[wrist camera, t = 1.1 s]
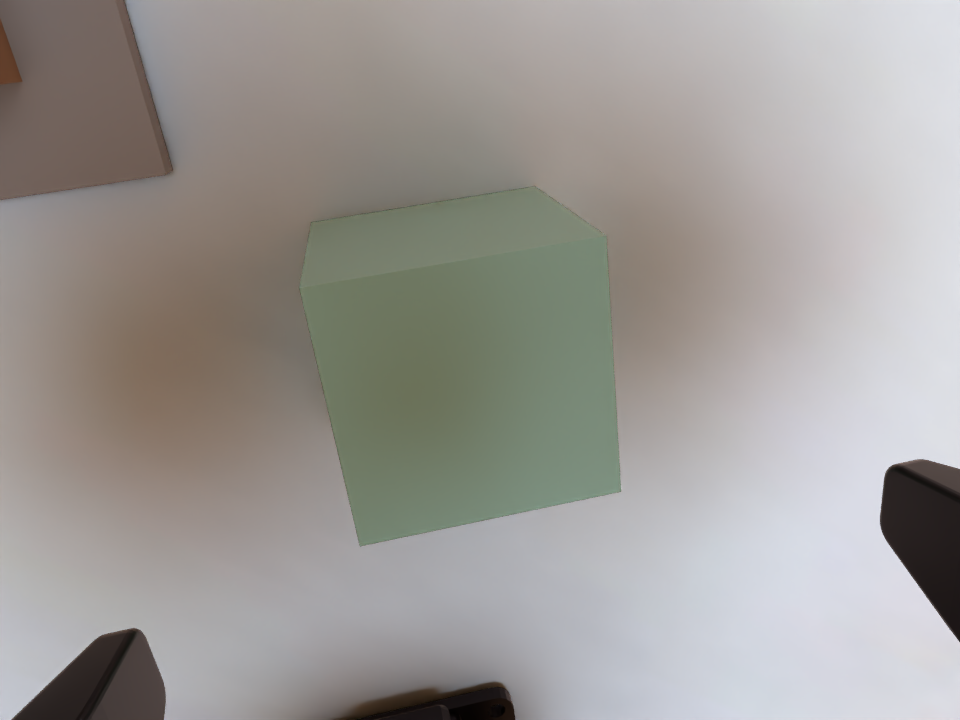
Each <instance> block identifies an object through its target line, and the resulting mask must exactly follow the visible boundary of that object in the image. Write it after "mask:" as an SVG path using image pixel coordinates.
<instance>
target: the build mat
mask: <svg viewBox="0 0 960 720" xmlns="http://www.w3.org/2000/svg"><path fill="white" fill-rule="evenodd" d="M0 19H1V22H2V25H3V27H4V30H5V33H6V36H7V39H8V42H9V44H10V47H11V50H12V53H13V56H14V59H15V62H16V64H17V67H18V70H19V73H20V76H21V79H22V81H23V82H16V83H9V84H1V85H0V200H3V199H10V198H16V197H23V196H29V195H36V194H43V193H49V192H56V191H63V190H69V189H76V188H82V187H89V186H96V185H102V184H109V183H116V182H122V181H129V180H135V179H142V178H149V177H155V176H162V175H167V174H168V173H170V172H171V171H173V170H172V166H171V163H170V159H169V156H168V152H167V149H166V145H165V142H164V138H163V135H162V131H161V128H160V125H159V121H158V118H157V114H156V111H155V107H154V104H153V100H152V97H151V93H150V90H149V86H148V83H147V79H146V76H145V72H144V69H143V65H142V62H141V59H140V55H139V52H138V48H137V45H136V41H135V38H134V34H133V31H132V27H131V24H130V20H129V17H128V13H127V10H126V6H125V3H124V0H0Z"/></svg>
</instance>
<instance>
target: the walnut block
mask: <svg viewBox="0 0 960 720" xmlns="http://www.w3.org/2000/svg"><path fill="white" fill-rule="evenodd" d="M16 82H23V81H22V79H21V76H20V73H19V70H18V67H17V64H16V62H15V59H14V56H13V53H12V50H11V47H10V44H9V42H8V39H7V36H6V33H5V30H4V27H3V25H2V22H1V19H0V85H1V84H9V83H16Z"/></svg>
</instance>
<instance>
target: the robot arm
mask: <svg viewBox="0 0 960 720" xmlns="http://www.w3.org/2000/svg"><path fill="white" fill-rule="evenodd" d="M880 525H881V530H882V533H883V535H884V537H885V539H886V541H887V542H888V544H889V545H890V547H891V548H892V549H893V551H894V552H895V554H896V555H897V556H898V558H899V559H900V560H901V562H902V563H903V565H904V566H905V567H906V569H907V570H908V572H909V573H910V574H911V576H912V577H913V579H914V580H915V581H916V583H917V584H918V586H919V587H920V588H921V590H922V591H923V592H924V594H925V595H926V597H927V598H928V599H929V601H930V602H931V604H932V605H933V606H934V608H935V609H936V611H937V612H938V613H939V615H940V616H941V618H942V619H943V620H944V622H945V623H946V625H947V626H948V627H949V629H950V630H951V631H952V632H953V634H954V635H955V636H956V638H957V639H958V640H959V642H960V469H958V468H954V467H950V466H947V465H943V464H939V463H936V462H932V461H929V460H924V459H918V460H913V461H908V462H903V463H899V464H894V465H892V466H891V467H889V468H888V470H887V471H886V473H885V477H884V485H883V495H882V504H881V513H880ZM165 704H166V694H165V687H164V682H163V679H162V677H161V674H160V672H159V669H158V667H157V664H156V662H155V659H154V657H153V654H152V652H151V649H150V647H149V644H148V642H147V639H146V637H145V635H144V634H143V633H142V631H141V630H139V629H136V628H131V629H127V630H122V631H117V632H113V633H108V634H104V635H101V636H99V637H98V638H97V639H96V640H94V641H93V642H92V643H91V644H90V645H89V646H88V647H87V648H86V649H85V650H84V651H83V652H82V653H81V654H80V655H79V656H77V657H76V658H75V659H74V660H73V661H72V662H71V663H70V664H69V665H68V666H67V667H66V668H65V669H64V670H63V671H62V672H61V673H60V674H59V675H58V676H57V677H55V678H54V679H53V680H52V681H51V682H50V683H49V684H48V685H47V686H46V687H45V688H44V689H43V690H42V691H41V692H40V693H39V694H38V695H37V696H36V697H35V698H34V699H32V700H31V701H30V702H29V703H28V704H27V705H26V706H25V707H24V708H23V709H22V710H21V711H20V712H19V713H18V714H17V715H16V716H15V717H14V718H13V719H12V720H164V714H165ZM496 704H499V705H497V706H493V705H496ZM357 720H515V715H514V708H513V704H512V700H511V696H510V694H509V692H508V691H507V690H506V689H504V688H500V687H495V688H489V689H485V690H480V691H476V692H472V693H467V694H463V695H459V696H455V697H450V698H446V699H442V700H438V701H433V702H429V703H425V704H421V705H416V706H412V707H408V708H404V709H399V710H395V711H391V712H387V713H382V714H378V715H374V716H370V717H365V718H361V719H357Z"/></svg>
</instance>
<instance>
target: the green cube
mask: <svg viewBox="0 0 960 720" xmlns="http://www.w3.org/2000/svg"><path fill="white" fill-rule="evenodd" d="M299 290H300V294H301V298H302V302H303V307H304V311H305V315H306V319H307V324H308V328H309V332H310V336H311V341H312V345H313V349H314V353H315V358H316V362H317V366H318V370H319V375H320V379H321V383H322V387H323V392H324V396H325V400H326V404H327V409H328V413H329V417H330V421H331V426H332V430H333V434H334V438H335V443H336V447H337V451H338V455H339V460H340V464H341V468H342V472H343V477H344V481H345V485H346V489H347V494H348V498H349V502H350V506H351V511H352V515H353V519H354V523H355V528H356V532H357V536H358V540H359V545H360V546H364V545H369V544H374V543H378V542H383V541H388V540H393V539H398V538H402V537H407V536H412V535H417V534H421V533H426V532H431V531H436V530H441V529H445V528H450V527H455V526H460V525H464V524H469V523H474V522H479V521H484V520H488V519H493V518H498V517H503V516H507V515H512V514H517V513H522V512H526V511H531V510H536V509H541V508H546V507H550V506H555V505H560V504H565V503H569V502H574V501H579V500H584V499H589V498H593V497H598V496H603V495H608V494H612V493H617V492H621V482H620V465H619V447H618V430H617V412H616V395H615V378H614V360H613V343H612V325H611V308H610V291H609V273H608V256H607V238H606V235H605V234H603V233H602V232H600V231H599V230H597V229H596V228H594V227H593V226H592V225H590V224H589V223H587V222H586V221H584V220H583V219H581V218H580V217H579V216H577V215H576V214H574V213H573V212H571V211H570V210H568V209H567V208H566V207H564V206H563V205H561V204H560V203H558V202H557V201H555V200H554V199H553V198H551V197H550V196H548V195H547V194H545V193H544V192H542V191H541V190H539V189H538V188H537V187H535V186H534V187H527V188H521V189H515V190H509V191H503V192H496V193H490V194H484V195H478V196H472V197H465V198H459V199H453V200H447V201H440V202H434V203H428V204H422V205H416V206H409V207H403V208H397V209H391V210H385V211H378V212H372V213H366V214H360V215H354V216H347V217H341V218H335V219H329V220H323V221H316V222H311V226H310V232H309V237H308V243H307V248H306V253H305V259H304V264H303V270H302V275H301V281H300V286H299Z"/></svg>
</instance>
